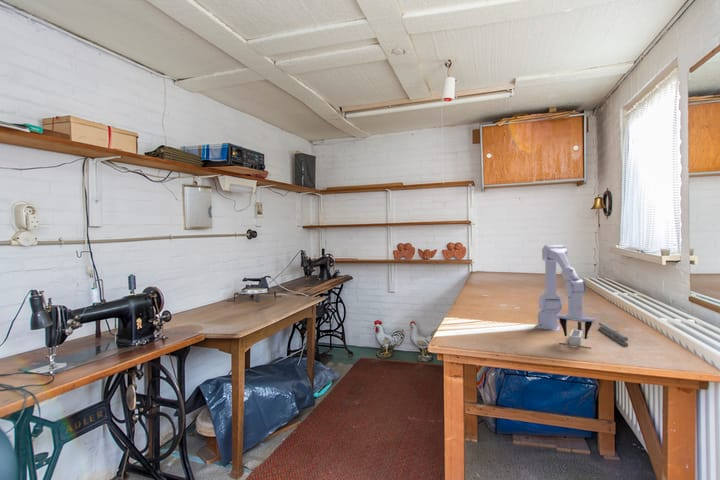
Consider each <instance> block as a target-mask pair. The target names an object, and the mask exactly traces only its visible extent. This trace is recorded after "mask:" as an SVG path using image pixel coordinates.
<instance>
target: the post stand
mask: <svg viewBox="0 0 720 480" xmlns="http://www.w3.org/2000/svg"><path fill="white" fill-rule="evenodd" d="M572 329H573V330H581V331H583V340H584V339H585V329H583V328H582V322H579V321H577V328H574V327H571V328H570V330H569V333H568V334H567V337H569V334H570V332H571V330H572ZM590 331H591V330H590V329H589V331H588V334H587V339H589V335H590ZM587 339H585V340H587Z"/></svg>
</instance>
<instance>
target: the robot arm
mask: <svg viewBox="0 0 720 480" xmlns="http://www.w3.org/2000/svg"><path fill="white" fill-rule="evenodd" d="M567 256H568V248H567V246H566V245H565V244H555V245H554V244H552V245H550V244H544V245H543V247H542V248H541V258H542V261H544V262H545V263H544V264H545V265H544V266H545V267H544V268H545V269H544V271H545V273H544V274H545V279H544V280H545V286H544V287H545V291H544V293H541V294H540V295H539V300H538V308H539V310H538V312H537V328H538V329H545V330H553V331H559V330H560V328H561V329H562V331H563V335H564V337H568V329H567V321H571V322H572V321H573V322H578V321H579V322H581V323H584V330H585V340H587V334H588V331H589V330H590V329H591V327H592V325H593V324H596V318H593V317H588V316H584V293H585V292H587V285H586V281H585V280H583V279H582V278H580V277H579V276H578V273H577V271H576V270H575V268H574V267H572V266H571V265H570V262H569V260H568V257H567ZM557 263H558V266H559V267H560V268H561V273H560V274H561V276H562V278H563V280H564V282H565V290H566V295H567V303H568V304H567V305H568V306H567V307H568V308H567V309H568V310H567V314H560V313H561V311H562V309H563V306H564V305H563V301H562V296H561V295H559V294H558V293H557ZM559 323H560V325H559ZM589 332H590V331H589Z"/></svg>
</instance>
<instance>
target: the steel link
mask: <svg viewBox="0 0 720 480" xmlns="http://www.w3.org/2000/svg"><path fill="white" fill-rule="evenodd" d="M570 330H571V329H570ZM569 332H570V331H569ZM568 335H569V336H568V344H569V345H574V346H573V347H575V346H582V343H583V340H584V338H583V331H581V330H573V329H572V330H571V332H570V334H569V333H568ZM569 345H568V346H569Z"/></svg>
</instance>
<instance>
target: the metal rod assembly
mask: <svg viewBox="0 0 720 480" xmlns="http://www.w3.org/2000/svg"><path fill="white" fill-rule="evenodd" d="M598 325H599V327H598V330H599V331H600V332H602V333H604V334H605V335H607V337H609V338H611V339H612V340H614V341H615V342H617V343H619V344H620V345H622V346H623V347H624V346H625V347H628V346H629V343H628V341H629V338H628V337H627V336H625V334H622V333H620V331H619V330H617V329H614V328H612V327H611V326H609V325H608V324H606V323H604V322H602V321H599V322H598Z"/></svg>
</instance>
